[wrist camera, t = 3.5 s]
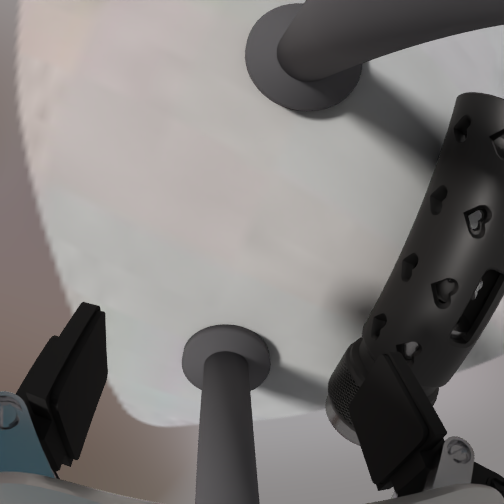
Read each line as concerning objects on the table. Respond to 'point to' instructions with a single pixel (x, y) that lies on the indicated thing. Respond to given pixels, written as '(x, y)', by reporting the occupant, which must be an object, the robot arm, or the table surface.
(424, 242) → the muzzle brake
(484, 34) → the table surface
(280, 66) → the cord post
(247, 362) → the cord post
